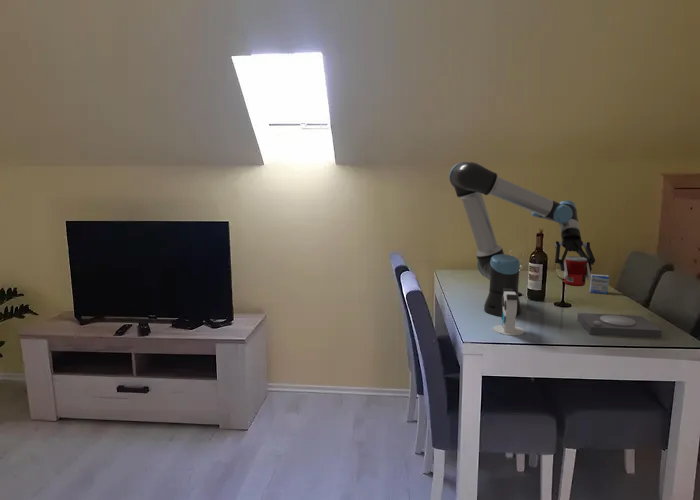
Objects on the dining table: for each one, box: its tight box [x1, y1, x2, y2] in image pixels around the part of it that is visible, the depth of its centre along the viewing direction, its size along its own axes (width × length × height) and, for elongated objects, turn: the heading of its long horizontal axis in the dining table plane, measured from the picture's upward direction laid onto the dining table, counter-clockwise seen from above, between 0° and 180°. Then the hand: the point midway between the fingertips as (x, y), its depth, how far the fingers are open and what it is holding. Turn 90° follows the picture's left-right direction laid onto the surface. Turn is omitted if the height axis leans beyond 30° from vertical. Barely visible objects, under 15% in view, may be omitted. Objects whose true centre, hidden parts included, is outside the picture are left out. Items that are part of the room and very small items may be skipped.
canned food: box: [563, 255, 587, 287], centre depth 215 cm, size 8×8×11 cm
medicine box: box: [589, 273, 610, 295], centre depth 253 cm, size 8×4×9 cm, turn 68°
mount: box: [577, 312, 662, 339], centre depth 200 cm, size 24×18×4 cm
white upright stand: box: [492, 288, 525, 336], centre depth 197 cm, size 12×11×15 cm
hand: (577, 277), depth 212 cm, fingers closed on canned food, 8 cm apart
